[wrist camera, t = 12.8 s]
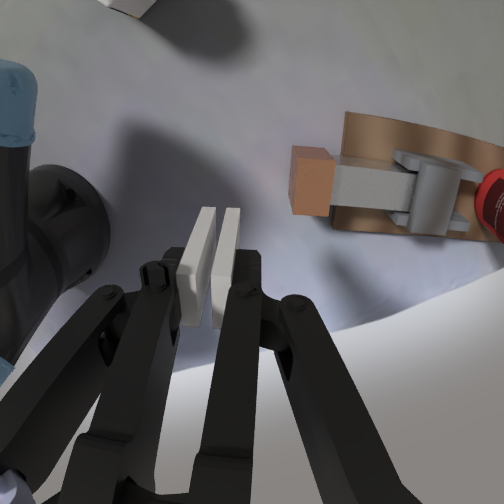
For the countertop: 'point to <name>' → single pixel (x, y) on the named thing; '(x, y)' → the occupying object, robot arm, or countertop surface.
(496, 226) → the canned food
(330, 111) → the countertop surface
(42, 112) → the countertop surface
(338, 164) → the shaft
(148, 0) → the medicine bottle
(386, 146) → the bearing rail
